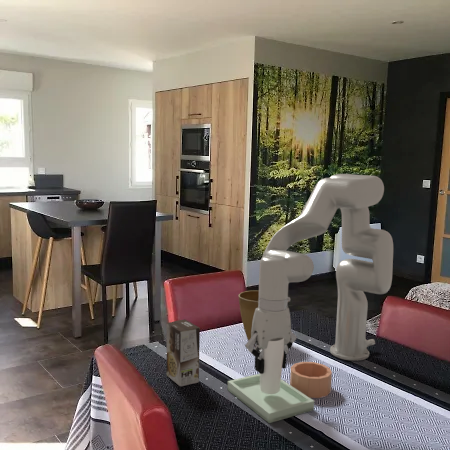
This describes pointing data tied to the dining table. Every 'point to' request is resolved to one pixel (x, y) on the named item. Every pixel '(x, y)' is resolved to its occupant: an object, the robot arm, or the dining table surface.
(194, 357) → the coffee box
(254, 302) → the plant pot
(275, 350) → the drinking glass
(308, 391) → the holder cup
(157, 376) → the dining table surface
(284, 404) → the tray
